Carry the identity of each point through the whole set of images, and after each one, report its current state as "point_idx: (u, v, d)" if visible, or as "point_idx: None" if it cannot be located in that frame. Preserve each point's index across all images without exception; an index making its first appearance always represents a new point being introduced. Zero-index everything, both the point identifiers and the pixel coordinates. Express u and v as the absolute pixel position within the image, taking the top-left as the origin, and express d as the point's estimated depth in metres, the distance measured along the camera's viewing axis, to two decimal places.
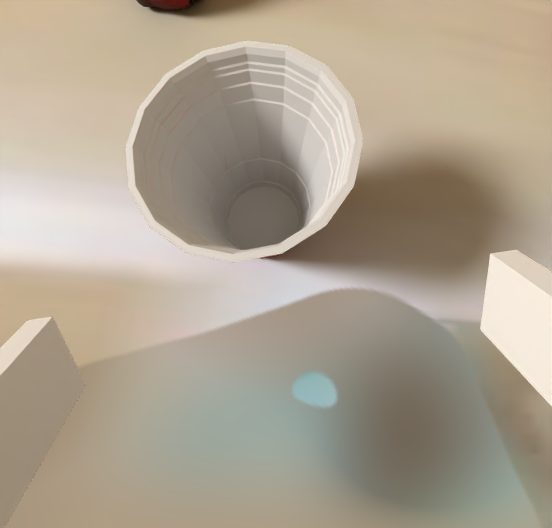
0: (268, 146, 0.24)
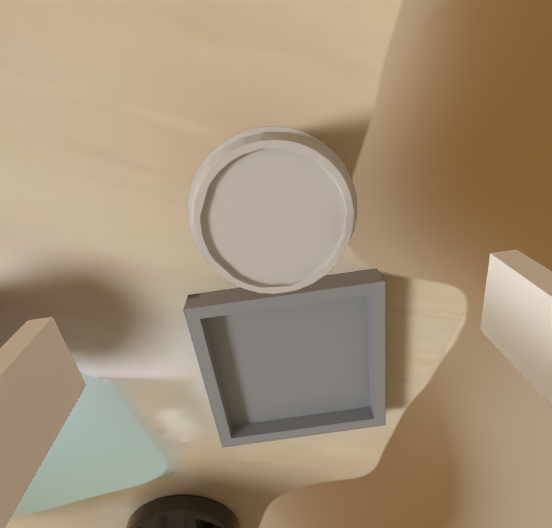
0: None
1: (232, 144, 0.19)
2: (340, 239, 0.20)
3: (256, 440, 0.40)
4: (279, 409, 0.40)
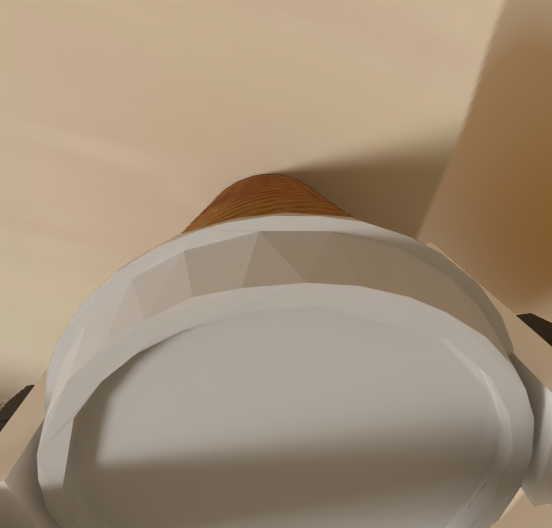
0: None
1: (154, 276, 0.06)
2: (472, 501, 0.07)
3: None
4: None
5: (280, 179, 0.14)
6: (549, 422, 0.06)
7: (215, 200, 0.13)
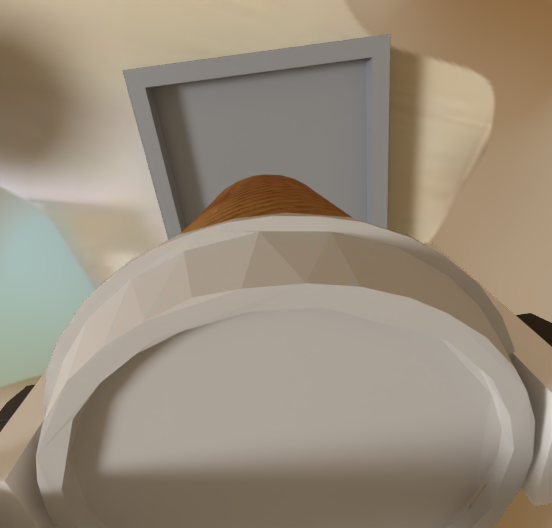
0: None
1: (153, 277, 0.06)
2: (472, 502, 0.07)
3: None
4: None
5: (280, 179, 0.14)
6: (549, 422, 0.06)
7: (215, 200, 0.13)
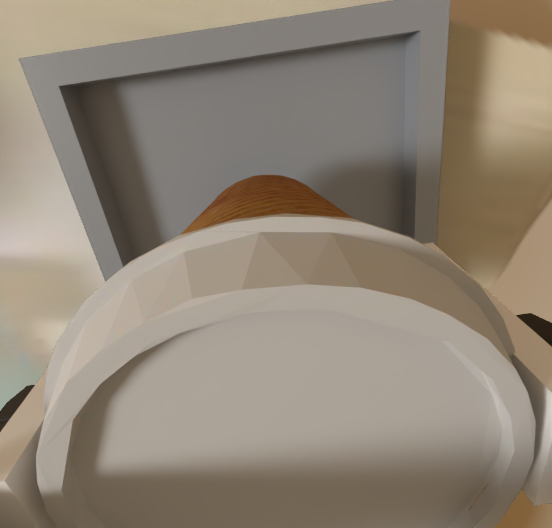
0: None
1: (154, 277, 0.06)
2: (472, 503, 0.07)
3: None
4: None
5: (280, 179, 0.14)
6: (549, 422, 0.06)
7: (215, 200, 0.13)
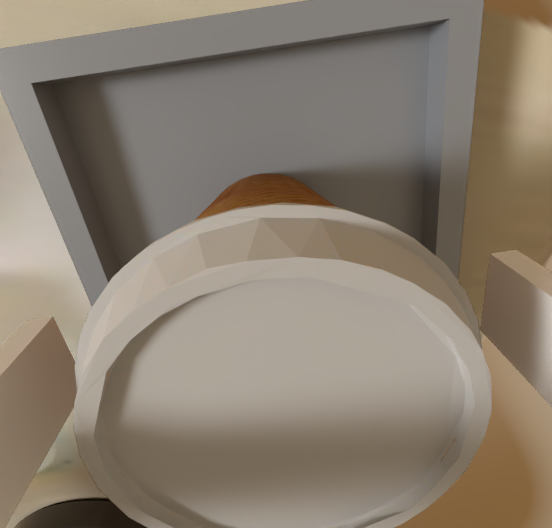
0: None
1: (173, 255, 0.07)
2: (444, 455, 0.09)
3: None
4: None
5: (279, 178, 0.16)
6: None
7: (219, 197, 0.14)
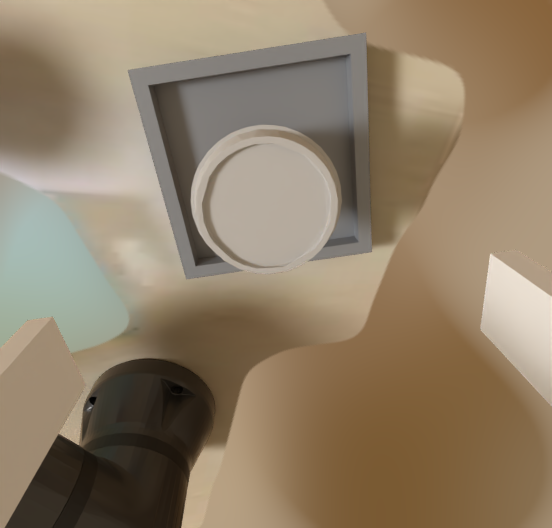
0: None
1: (229, 140, 0.21)
2: (326, 225, 0.23)
3: (224, 269, 0.35)
4: None
5: None
6: None
7: None
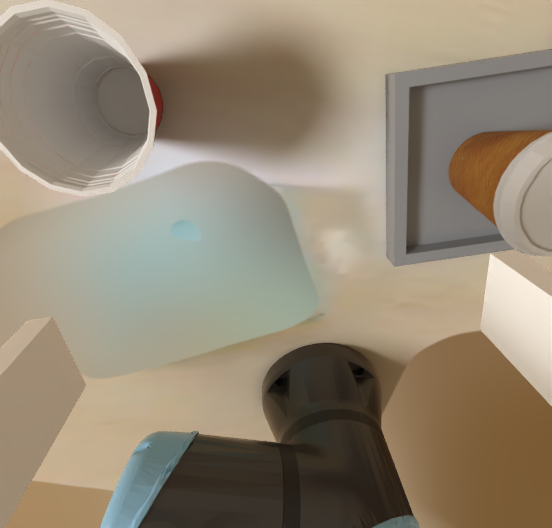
0: (110, 52, 0.27)
1: None
2: None
3: (431, 257, 0.38)
4: (452, 227, 0.38)
5: None
6: None
7: (486, 138, 0.31)
